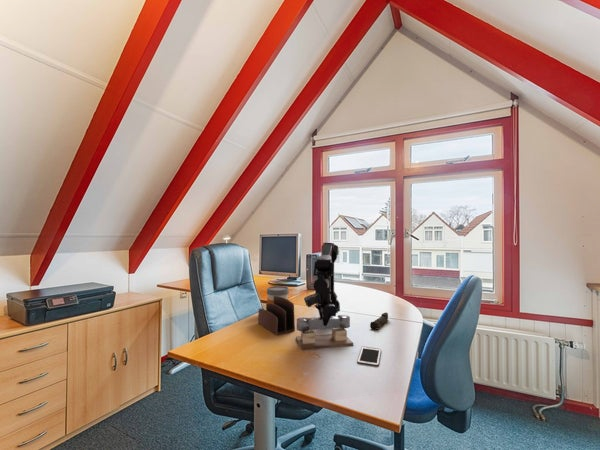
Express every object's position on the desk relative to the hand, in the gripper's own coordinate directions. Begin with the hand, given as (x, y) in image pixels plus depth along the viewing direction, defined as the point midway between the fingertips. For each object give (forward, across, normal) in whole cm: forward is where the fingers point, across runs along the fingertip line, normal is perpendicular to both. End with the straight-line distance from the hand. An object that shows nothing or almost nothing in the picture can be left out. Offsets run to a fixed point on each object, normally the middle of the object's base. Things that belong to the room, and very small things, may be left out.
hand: (323, 324), depth 123 cm
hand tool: (+8, -16, +35) cm, 39 cm away
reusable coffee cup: (+8, -43, -14) cm, 46 cm away
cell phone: (+8, +17, +13) cm, 23 cm away
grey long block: (+1, 0, 0) cm, 1 cm away
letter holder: (+8, -23, -18) cm, 30 cm away
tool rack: (+8, 0, 0) cm, 8 cm away
